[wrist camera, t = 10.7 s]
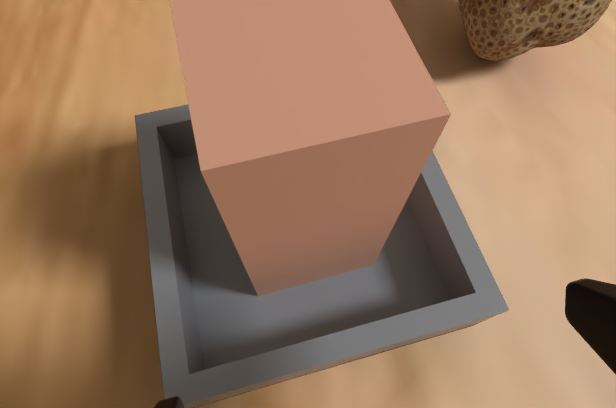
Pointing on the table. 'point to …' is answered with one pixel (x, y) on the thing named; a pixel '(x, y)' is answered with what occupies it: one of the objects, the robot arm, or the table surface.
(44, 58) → the table surface
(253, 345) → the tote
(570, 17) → the natural sponge
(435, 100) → the carton
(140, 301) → the table surface
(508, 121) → the table surface
